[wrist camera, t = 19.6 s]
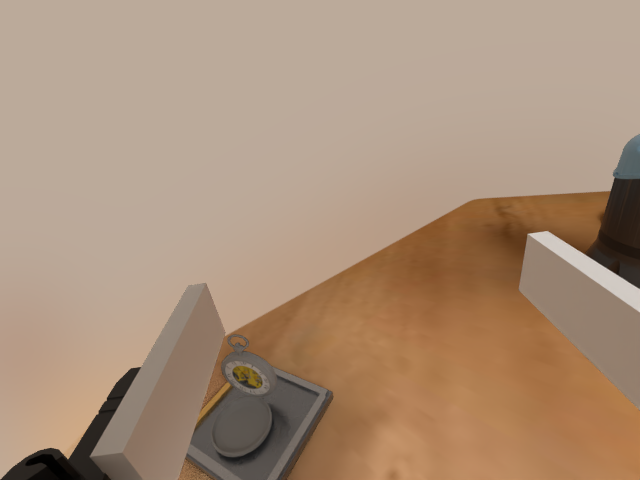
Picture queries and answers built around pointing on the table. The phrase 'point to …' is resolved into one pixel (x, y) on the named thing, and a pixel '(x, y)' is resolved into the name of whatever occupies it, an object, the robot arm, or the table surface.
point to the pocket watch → (244, 403)
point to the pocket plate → (282, 440)
